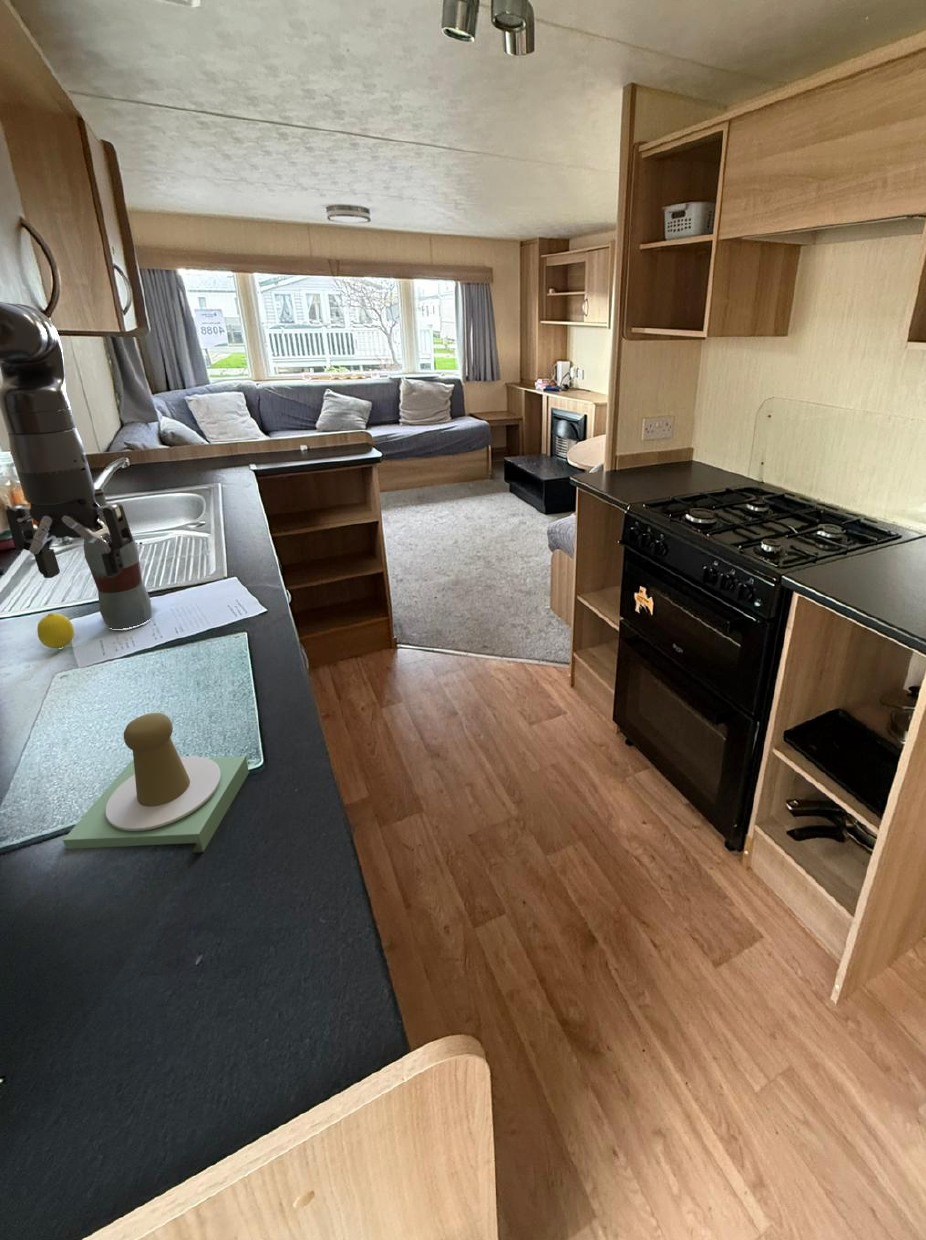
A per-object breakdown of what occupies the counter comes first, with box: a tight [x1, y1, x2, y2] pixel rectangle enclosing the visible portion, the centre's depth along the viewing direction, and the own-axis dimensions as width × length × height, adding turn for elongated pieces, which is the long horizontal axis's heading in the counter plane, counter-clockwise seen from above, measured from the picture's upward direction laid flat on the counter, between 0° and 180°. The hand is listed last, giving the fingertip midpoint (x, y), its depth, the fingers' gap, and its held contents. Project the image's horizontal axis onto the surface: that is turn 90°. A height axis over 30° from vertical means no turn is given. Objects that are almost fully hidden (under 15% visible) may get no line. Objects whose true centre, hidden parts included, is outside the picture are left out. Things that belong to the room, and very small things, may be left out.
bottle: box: [83, 488, 153, 629], centre depth 125 cm, size 9×9×30 cm
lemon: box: [36, 612, 75, 649], centre depth 118 cm, size 6×6×8 cm
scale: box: [62, 755, 250, 854], centre depth 79 cm, size 16×14×4 cm
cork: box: [123, 712, 190, 807], centre depth 77 cm, size 6×6×11 cm
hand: (84, 575), depth 84 cm, fingers open, 8 cm apart
